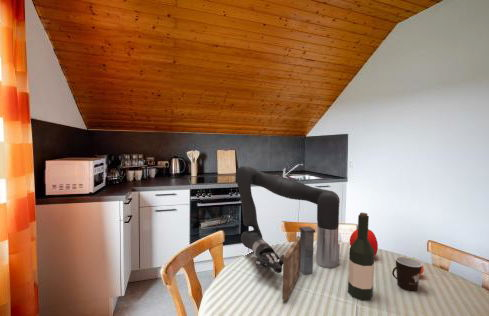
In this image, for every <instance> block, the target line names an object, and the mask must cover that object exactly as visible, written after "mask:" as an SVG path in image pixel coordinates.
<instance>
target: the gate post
mask: <svg viewBox="0 0 489 316" xmlns="http://www.w3.org/2000/svg"><path fill="white" fill-rule="evenodd" d="M298 230H300V231H299V232H300V234H299V237H301V260H300V273H301V274H302V275H303V276H308V275H313V269H314V265H313V264H314V240H315V239H314V237H315V236H314V235H315V233H316V229H315V228H313V227H311V226H300V227H298Z"/></svg>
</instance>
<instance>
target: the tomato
mask: <svg viewBox="0 0 489 316" xmlns="http://www.w3.org/2000/svg"><path fill="white" fill-rule="evenodd" d="M357 237H358V228H357V229H356V230H355V229H354V231H353V232H352V233H351V235H350V237H349V245H350V247H351V246H352V244H353V243H354V242H355V240H356V239H357ZM368 240H369V242H370V244H371V246H372V247H373V249H374V251H375V256H376V255H377V254H378V249H379V244H378V240H377V237H376V235H375V233H374V231H373V230H371V229H369V228H368Z"/></svg>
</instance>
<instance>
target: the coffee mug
mask: <svg viewBox="0 0 489 316" xmlns="http://www.w3.org/2000/svg"><path fill="white" fill-rule="evenodd" d="M412 258H413V257H407V256H396V257H395V267H393V269H392V271H391V274H392V276H393V278H394V279H396V281H397V287H399V288H400V289H402V290H404V291H407V292H416V291H417V290H418V287H419V283H420V278H421V275H420V273H421V268H422V265H423V263H421V262H420V261H419V260H418V259H416V258H415V259H416V260H415V259H412ZM417 260H418V261H417ZM395 271H396V275H395Z"/></svg>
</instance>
